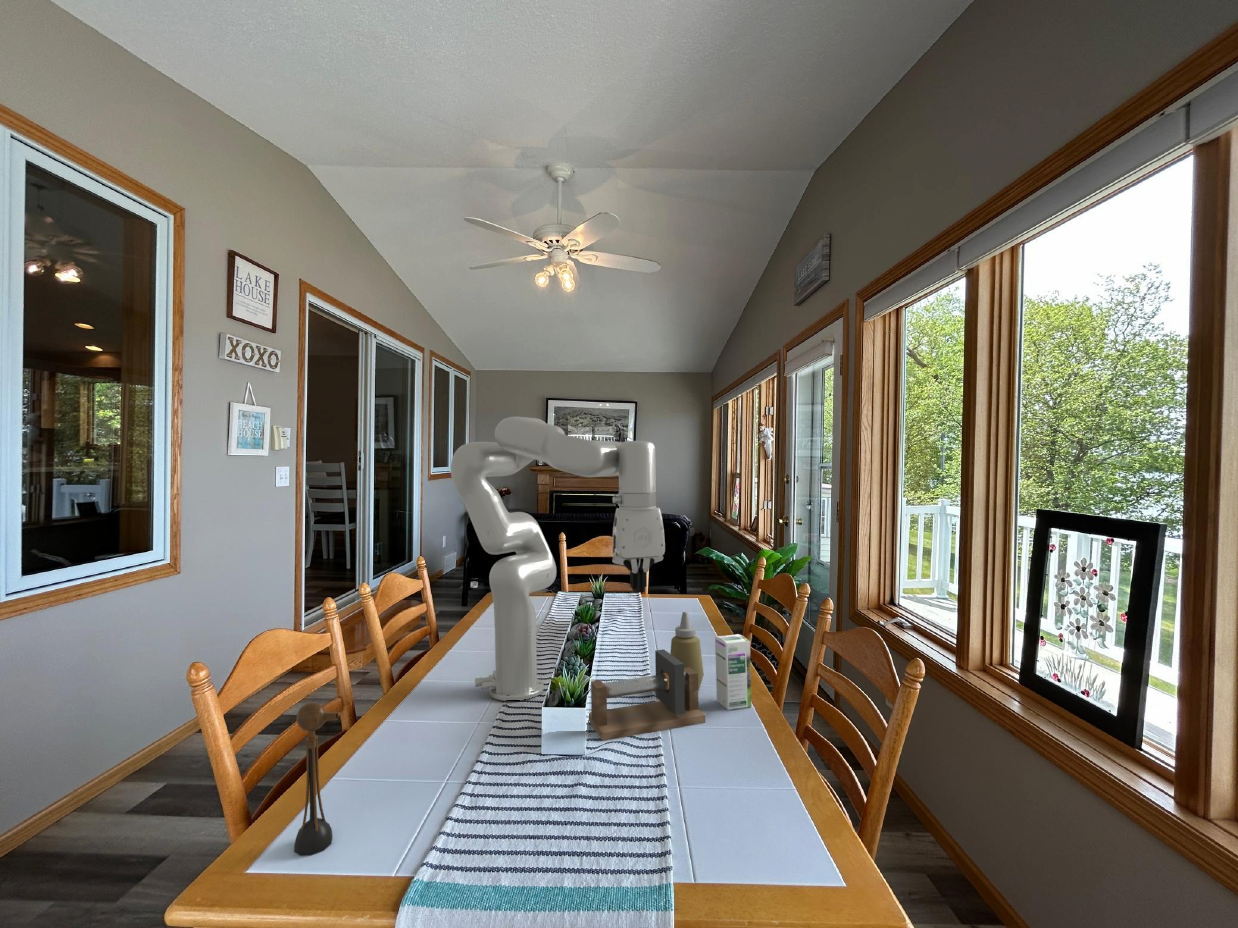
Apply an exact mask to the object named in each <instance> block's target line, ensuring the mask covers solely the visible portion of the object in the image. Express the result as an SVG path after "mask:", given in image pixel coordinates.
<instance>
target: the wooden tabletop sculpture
mask: <svg viewBox="0 0 1238 928" xmlns="http://www.w3.org/2000/svg"><path fill="white" fill-rule="evenodd" d="M338 718H339V712H338V711H331V712H328V711H326V709H325V707H324V706H323V704H320V703H318V702H316V701H313V702H307V703H305V704H304V705H302V706H301V707H300V708H299V710H298V711H297V713H296V722H297V726H299V728H301V729H302V731H307V732H308V736H307V737H305V746H306V747H305V749H306V752H305V753H306V754H305V756H306V787H305V788H306V789H305V790H306V792H305V804H304V814H303V819H302V820H303V821H302V825H301V827H300V828H299V829H298V831H297V834H296V837H295V841H294V848H293V849H294V853H295V854H297V855H298V856H303V857H304V856H312V855H315V854H318V853H320V852H321V853H322V852H324V851H325V850H326V849H327V848H328V847H330V846H331V845H332V843H333V831H332V830H333V829H332V827H331V825H330V823H328V821H326V818H325V814H324V809H323V803H322V799H321V797H322V796H321V789H320V788H321V787H320V778H319V777H320V776H319V775H320V774H319V773H320V771H319V770H320V769H319V735H317V734H316V730H319V729H321V727H323V725H324V724H325V722H327V721H337V720H338ZM317 800H318V807H319V812H320V816H321V817H318V810H317ZM308 806H309V807H308ZM308 808H309V809H308ZM308 810H309V820H307V815H308Z"/></svg>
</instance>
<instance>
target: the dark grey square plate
mask: <svg viewBox="0 0 1238 928" xmlns="http://www.w3.org/2000/svg"><path fill="white" fill-rule="evenodd" d="M654 652H655V653H654V654H655V655H654V657H655V662H654V663H655V675H661V674H664V673H667V674H668V675H669V689H668V690H658V691H655V697H656V698H657V699H658V701H661V702H662V703H663V704H664V705H665V706H666V707H667V708H669V709H670V710H671V711H672V712H673V713H674V714H675V715H680V714H685V695H684V663H682V662H681V661H679V660H678V659H677V658H675V657H674V656H672V655H671V654H670V652H668V651H667V650H666V649H656V650H654Z"/></svg>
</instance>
